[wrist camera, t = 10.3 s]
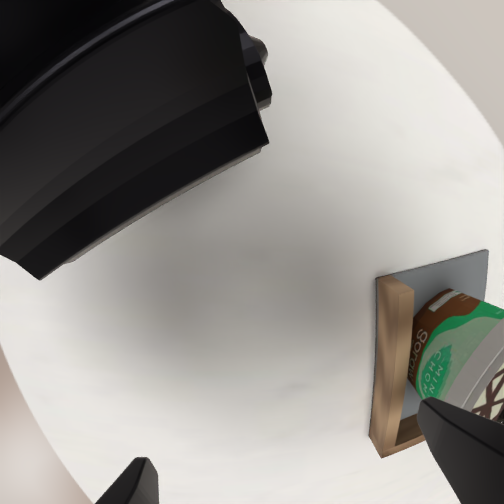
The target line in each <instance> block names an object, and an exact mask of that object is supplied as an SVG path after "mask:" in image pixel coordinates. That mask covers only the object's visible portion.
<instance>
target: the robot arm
mask: <svg viewBox="0 0 504 504" xmlns="http://www.w3.org/2000/svg"><path fill="white" fill-rule="evenodd" d="M267 56H268V52H267V49H266V47H265V45H264V43H263V42H262V41H261V40H260V39H257V38H255V37H252V36H250V35H248V34H247V32H246V31H245V29H244V28H243V26H242V25H241V24H240V22H239V21H238V20H237V18H236V17H235V16H234V15H233V14H232V13H231V12H230V11H229V10H227V9H226V8H224V6H223V4H222V2H221V0H0V255H2V256H4V257H6V258H8V259H10V260H12V261H14V262H16V263H17V264H18V265H20V266H21V267H22V268H23V269H25V270H26V271H27V272H29V273H30V274H31V275H32V276H34V277H35V278H36V279H38V280H42V279H44V278H45V277H46V276H48V275H49V274H50V273H52V272H53V271H55V270H56V269H57V268H59V267H60V266H62V265H63V264H66V263H70V262H73V261H75V260H76V259H78V258H79V257H81V256H82V255H84V254H85V253H87V252H88V251H90V250H91V249H93V248H94V247H96V246H97V245H99V244H100V243H102V242H103V241H105V240H106V239H108V238H110V237H111V236H113V235H114V234H116V233H117V232H119V231H121V230H122V229H124V228H125V227H127V226H129V225H130V224H132V223H133V222H135V221H137V220H138V219H140V218H142V217H143V216H145V215H147V214H148V213H150V212H152V211H153V210H155V209H157V208H158V207H160V206H162V205H163V204H165V203H167V202H169V201H170V200H172V199H174V198H176V197H177V196H179V195H181V194H183V193H184V192H186V191H188V190H190V189H191V188H193V187H195V186H197V185H199V184H201V183H202V182H204V181H206V180H208V179H210V178H212V177H213V176H215V175H217V174H219V173H221V172H223V171H225V170H227V169H228V168H230V167H232V166H234V165H236V164H238V163H240V162H242V161H244V160H246V159H248V158H250V157H252V156H254V155H256V154H258V153H260V151H261V148H262V147H263V146H265V145H267V144H269V140H268V137H267V134H266V132H265V129H264V126H263V123H262V120H261V116H260V112H259V111H261V110H263V109H265V108H267V107H269V106H270V104H271V96H272V91H271V87H270V84H269V81H268V78H267V74H266V72H265V69H264V65H265V62H266V59H267ZM417 422H418V424H419V426H420V429H421V431H422V433H423V435H424V437H425V440H426V442H427V444H428V446H429V449H430V451H431V453H432V455H433V457H434V458H435V460H436V462H437V463H438V465H439V467H440V468H441V470H442V472H443V473H444V475H445V477H446V478H447V480H448V482H449V483H450V485H451V487H452V489H453V490H454V492H455V494H456V495H457V497H458V499H459V501H460V502H461V504H504V424H502V423H499V422H496V421H493V420H491V419H488V418H485V417H483V416H480V415H477V414H475V413H472V412H470V411H467V410H465V409H462V408H460V407H457V406H455V405H452V404H450V403H447V402H445V401H442V400H440V399H437V398H435V397H432V396H430V397H427V398H425V399H423V400H421V401H420V404H419V409H418V413H417ZM95 504H159V489H158V473H157V471H156V469H155V467H154V466H153V464H152V463H151V461H150V459H149V458H147V457H136V458H135V459H134V460H133V461H132V462H131V463H130V464H129V465H128V467H127V468H126V469H125V470H124V471H123V472H122V474H121V475H120V476H119V477H118V478H117V479H116V480H115V482H114V483H113V484H112V485H111V486H110V487H109V488H108V489H107V491H106V492H105V493H104V494H103V495H102V496H101V497H100V498H99V500H98V501H97V502H96V503H95Z"/></svg>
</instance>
